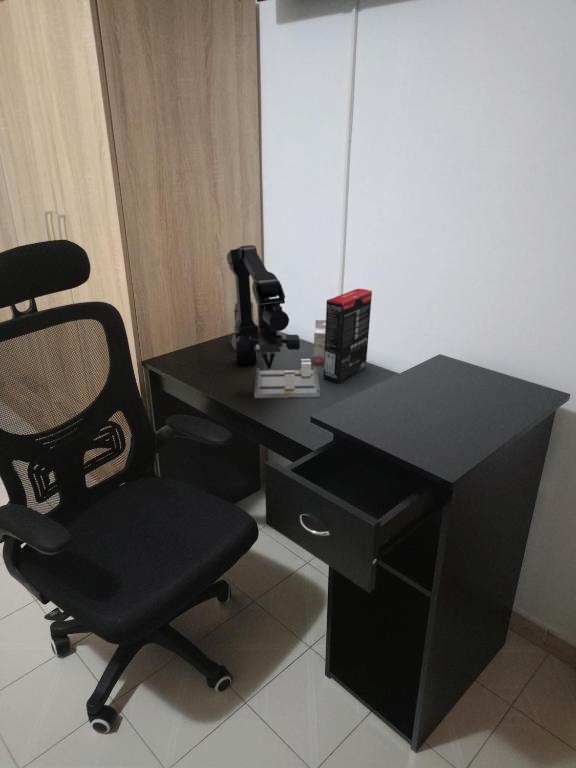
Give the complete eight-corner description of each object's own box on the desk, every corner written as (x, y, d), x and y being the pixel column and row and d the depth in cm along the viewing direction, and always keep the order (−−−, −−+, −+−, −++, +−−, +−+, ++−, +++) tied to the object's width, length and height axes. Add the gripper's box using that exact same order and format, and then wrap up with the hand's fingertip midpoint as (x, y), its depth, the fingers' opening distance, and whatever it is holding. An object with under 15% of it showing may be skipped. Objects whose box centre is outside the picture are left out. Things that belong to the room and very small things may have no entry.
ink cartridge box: (313, 364, 190) (313, 324, 184) (314, 358, 195) (314, 319, 188) (337, 364, 189) (339, 324, 183) (338, 359, 194) (339, 319, 187)
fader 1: (284, 389, 168) (284, 375, 166) (284, 383, 172) (284, 370, 170) (294, 389, 168) (294, 375, 166) (294, 383, 172) (294, 369, 170)
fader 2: (301, 376, 177) (301, 363, 175) (301, 371, 180) (301, 358, 178) (311, 376, 177) (311, 363, 175) (310, 371, 180) (310, 358, 178)
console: (254, 398, 167) (254, 390, 166) (256, 374, 183) (256, 367, 182) (319, 397, 168) (319, 389, 166) (316, 373, 183) (316, 366, 182)
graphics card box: (351, 362, 191) (354, 286, 179) (368, 367, 187) (373, 290, 175) (322, 379, 179) (324, 299, 167) (340, 385, 175) (342, 303, 163)
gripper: (233, 330, 153) (236, 380, 160) (300, 329, 153) (300, 379, 160) (236, 317, 163) (239, 365, 170) (299, 316, 163) (299, 363, 170)
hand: (269, 368), depth 167 cm, fingers closed
